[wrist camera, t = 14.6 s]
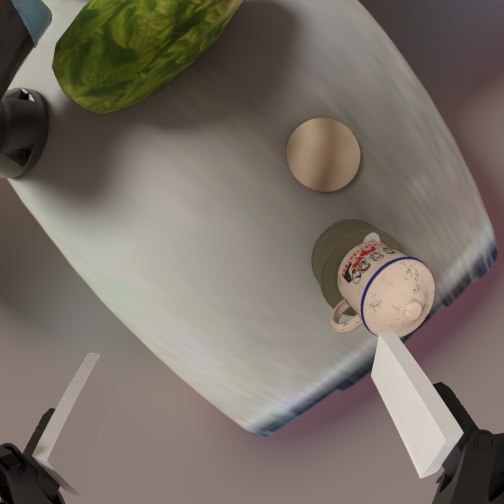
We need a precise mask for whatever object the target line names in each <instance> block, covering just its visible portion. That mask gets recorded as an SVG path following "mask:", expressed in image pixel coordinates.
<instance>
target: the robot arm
mask: <svg viewBox="0 0 504 504" xmlns="http://www.w3.org/2000/svg"><path fill="white" fill-rule="evenodd" d="M51 21H52V13H51V11H50V9H49V8H48V7H47V6H46V5H45V4H44V3H43V2H42V1H41V0H0V177H3V178H12V177H17V176H20V175H23V174H25V173H26V172H28V171H29V170H30V169H31V168H32V167H33V166H34V165H35V163H36V162H37V160H38V159H39V157H40V155H41V153H42V150H43V148H44V145H45V142H46V137H47V132H48V114H47V109H46V105H45V103H44V101H43V99H42V97H41V96H40V95H39V94H38V93H37V92H35V91H34V90H31V89H26V88H14V89H11V90H8V91H7V89H8V87H9V85H10V84H11V82H12V80H13V79H14V77H15V75H16V74H17V72H18V71H19V69H20V67H21V66H22V64H23V63H24V61H25V60H26V58H27V57H28V55H29V54H30V52H31V51H32V49H33V48H36V46H37V45H38V41H39V39H40V38H41V37H42V35H43V34H44V32H45V31H46V30H47V28H48V27H49V25H50V23H51ZM371 377H372V379H373V381H374V383H375V385H376V387H377V389H378V391H379V393H380V395H381V397H382V399H383V401H384V403H385V405H386V407H387V409H388V411H389V413H390V415H391V417H392V419H393V421H394V423H395V425H396V427H397V429H398V431H399V433H400V436H401V438H402V440H403V442H404V444H405V446H406V448H407V450H408V453H409V455H410V457H411V459H412V461H413V463H414V466H415V468H416V470H417V472H418V474H419V476H420V478H423V477H426V476H428V475H431V474H433V473H435V472H437V471H438V469H439V468H440V467H441V465H443V467H444V469H445V471H444V472H443V473H442V475H441V476H440V477H439V478H438V480H437V482H436V483H439V481H440V484H439V486H438V489H437V492H436V494H435V497H434V500H433V502H432V504H504V433H501V434H492V433H491V432H490V431H487V430H480V429H478V427H477V426H476V425H475V423H474V421H473V420H472V418H471V417H470V416H469V414H468V413H467V411H466V410H465V408H464V407H463V406H462V405H461V403H460V401H459V400H458V398H456V396H455V394H454V393H453V391H452V390H451V389H450V388H449V387H448V386H446V385H445V384H443V383H442V382H439V383H436V384H433V385H432V384H431V382H430V381H429V379H428V378H427V376H426V375H425V374H424V372H423V371H422V369H421V368H420V367H419V365H418V364H417V362H416V361H415V360H414V358H413V357H412V355H411V354H410V353H409V351H408V350H407V348H406V347H405V346H404V344H403V343H402V342H401V340H400V339H399V337H398V336H397V335H396V333H395V332H394V331H389V332H383V333H379V337H378V343H377V349H376V354H375V359H374V364H373V369H372V374H371ZM118 394H119V393H118V391H117V389H116V387H115V385H114V382H113V380H112V378H111V375H110V373H109V371H108V369H107V366H106V364H105V361H104V359H103V356H102V354H101V353H88V355H87V356H86V358H85V360H84V361H83V363H82V364H81V366H80V368H79V369H78V371H77V373H76V375H75V376H74V378H73V380H72V381H71V383H70V385H69V387H68V389H67V390H66V392H65V394H64V395H63V397H62V399H61V401H60V403H59V404H58V406H57V408H56V409H53V408H50V409H49V410H48V411H47V412H46V413H45V414H44V415H43V416H42V418H41V420H40V422H39V425H38V426H37V427H36V429H35V432H34V433H33V435H32V437H31V439H30V441H29V443H28V444H27V446H26V449H25V450H24V452H23V454H22V453H21V452H20V451H19V449H18V448H17V447H16V446H15V445H13V444H11V443H5V444H2V445H0V497H1V502H0V504H65V502H64V500H63V497H62V495H61V493H60V492H59V491H58V489H59V487H60V486H61V487H62V488H63V489H64V490H65V491H66V492H68V493H72V494H76V495H79V496H82V494H83V491H84V488H85V485H86V481H87V478H88V475H89V472H90V469H91V467H92V463H93V461H94V458H95V455H96V452H97V449H98V447H99V444H100V441H101V438H102V436H103V433H104V430H105V428H106V425H107V422H108V420H109V417H110V414H111V412H112V409H113V407H114V404H115V402H116V399H117V397H118Z"/></svg>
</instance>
